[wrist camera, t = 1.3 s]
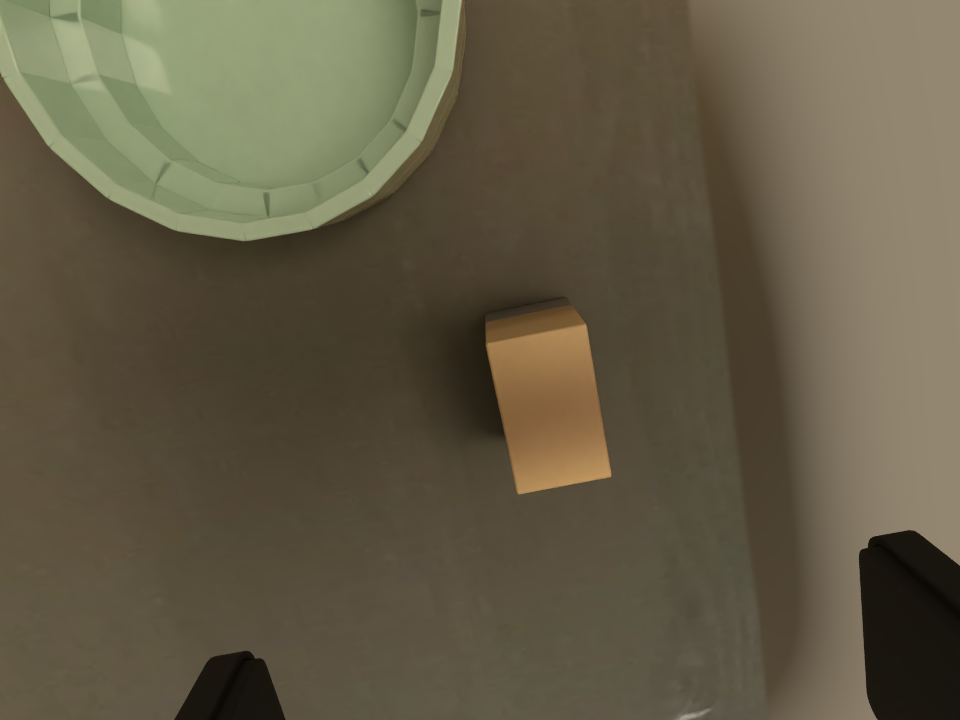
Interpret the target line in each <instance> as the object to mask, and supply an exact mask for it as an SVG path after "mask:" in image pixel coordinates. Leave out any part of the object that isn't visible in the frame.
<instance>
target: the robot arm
mask: <svg viewBox="0 0 960 720" xmlns="http://www.w3.org/2000/svg"><path fill="white" fill-rule="evenodd" d="M859 566H860V567H859V568H860V583H861V584H860V585H861V602H862V618H863V637H864V654H865V671H866V688H867V696H868V700H869V703H870V706H871V708H872V710H873V712H874V714H875V716H876V718H877V719H878V720H960V566H959V565H958V564H957V563H956V562H954V561H953V560H951V559H950V558H949V557H948V556H947V555H945V554H944V553H943V552H942V551H940V550H939V549H938V548H937V547H935V546H934V545H933V544H931V543H930V542H929V541H928V540H926V539H925V538H924V537H923V536H921V535H920V534H919V533H917V532H915V531H911V530H908V531H902V532H897V533H891V534H886V535H880V536H875V537H872V538H871V539H870V540H869V543H868V548H865V549H862V550H861V551H860V554H859ZM175 720H285V717H284V714H283V711H282V708H281V706H280V703H279V700H278V697H277V694H276V691H275V688H274V686H273V683H272V680H271V677H270V674H269V671H268V668H267V666H266V664H265V661H264V660H263V659H260V658H258V659H255V658H254V656H253V654H252V653H251V652H249V651H242V652H237V653H231V654H226V655H220V656H215V657H212V658H210V659H209V661H208V662H207V663H206V665H205V666H204V668H203V670H202V672H201V674H200V675H199V677H198V679H197V681H196V682H195V684H194V686H193V688H192V690H191V691H190V693H189V695H188V697H187V698H186V700H185V702H184V704H183V706H182V707H181V709H180V711H179V713H178V714H177V716H176V718H175Z"/></svg>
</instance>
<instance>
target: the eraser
mask: <svg viewBox="0 0 960 720" xmlns="http://www.w3.org/2000/svg"><path fill="white" fill-rule="evenodd" d="M485 334H486V349H487V353H488V358H489V363H490V368H491V372H492V377H493V382H494V387H495V391H496V396H497V401H498V406H499V410H500V415H501V420H502V425H503V429H504V434H505V439H506V444H507V448H508V453H509V458H510V463H511V467H512V472H513V477H514V481H515V486H516V491H517V493H518V494H523V493H528V492H533V491H539V490H544V489H549V488H555V487H560V486H565V485H571V484H576V483H582V482H587V481H592V480H598V479H603V478H608V477H611V469H610V463H609V457H608V451H607V445H606V439H605V433H604V427H603V421H602V415H601V409H600V403H599V397H598V391H597V385H596V379H595V373H594V367H593V361H592V355H591V349H590V343H589V337H588V331H587V325H586V324H585V322H584V321H583V320H582V318H581V317H580V316H579V314H578V313H577V312H576V310H575V309H574V307H573V306H572V304H571V303H570V302H569V300H568V299H567V298H566V297H564V298H559V299H554V300H549V301H544V302H539V303H534V304H530V305H525V306H520V307H515V308H510V309H505V310H500V311H495V312H490V313H486V314H485Z"/></svg>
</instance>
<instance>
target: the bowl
mask: <svg viewBox="0 0 960 720" xmlns="http://www.w3.org/2000/svg"><path fill="white" fill-rule="evenodd" d="M465 40H466V17H465V6H464V0H0V73H1V76H2V77H3V78H4V81H5V83H6V84H7V86H8V87H9V89H10V90H11V92H12V93H13V95H14V96H15V98H16V99H17V101H18V102H19V104H20V105H21V107H22V108H23V110H24V111H25V113H26V114H27V116H28V117H29V119H30V120H31V122H32V123H33V125H34V126H35V128H36V129H37V131H38V132H39V134H40V135H41V137H42V138H43V140H44V141H45V143H46V144H47V145H48V146H49V147H50V149H51V150H52V151H54V152H55V153H56V154H57V155H58V156H59V157H60V158H62V159H63V160H64V161H65V162H66V163H67V164H68V165H70V166H71V167H72V168H73V169H74V170H75V171H76V172H78V173H79V174H80V175H81V176H82V177H83V178H84V179H86V180H87V181H88V182H89V183H90V184H91V185H92V186H94V187H95V188H96V189H97V190H98V191H99V192H100V193H102V194H103V195H104V196H105V197H106V198H108V199H109V200H111V201H113V202H115V203H117V204H119V205H121V206H123V207H125V208H127V209H130V210H132V211H134V212H136V213H138V214H140V215H142V216H144V217H146V218H149V219H151V220H153V221H155V222H157V223H159V224H161V225H163V226H165V227H168V228H170V229H172V230H176V231H178V232H183V233H190V234H197V235H204V236H211V237H218V238H225V239H231V240H238V241H252V240H258V239H263V238H269V237H275V236H280V235H286V234H292V233H297V232H303V231H309V230H313V229H317V228H320V227H323V226H327V225H330V224H334V223H337V222H340V221H343V220H346V219H348V218H350V217H352V216H354V215H356V214H357V213H359V212H361V211H363V210H365V209H366V208H368V207H370V206H372V205H374V204H376V203H377V202H379V201H381V200H383V199H385V198H386V197H388V196H390V195H392V194H393V192H396V191H397V190H398V188H399V187H400V186H401V185H402V184H403V183H404V182H405V181H406V180H407V179H408V177H409V176H410V175H411V174H412V173H413V172H414V171H415V170H416V169H417V168H418V166H419V165H420V164H421V163H422V162H423V161H424V160H425V159H426V158H427V157H428V156H429V154H430V153H431V152H432V149H434V147H435V145H436V143H437V141H438V139H439V136H440V134H441V132H442V130H443V127H444V125H445V123H446V121H447V119H448V116H449V114H450V112H451V110H452V108H453V105H454V103H455V101H456V99H457V93H458V92H459V87H460V79H461V71H462V63H463V55H464V48H465Z"/></svg>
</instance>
